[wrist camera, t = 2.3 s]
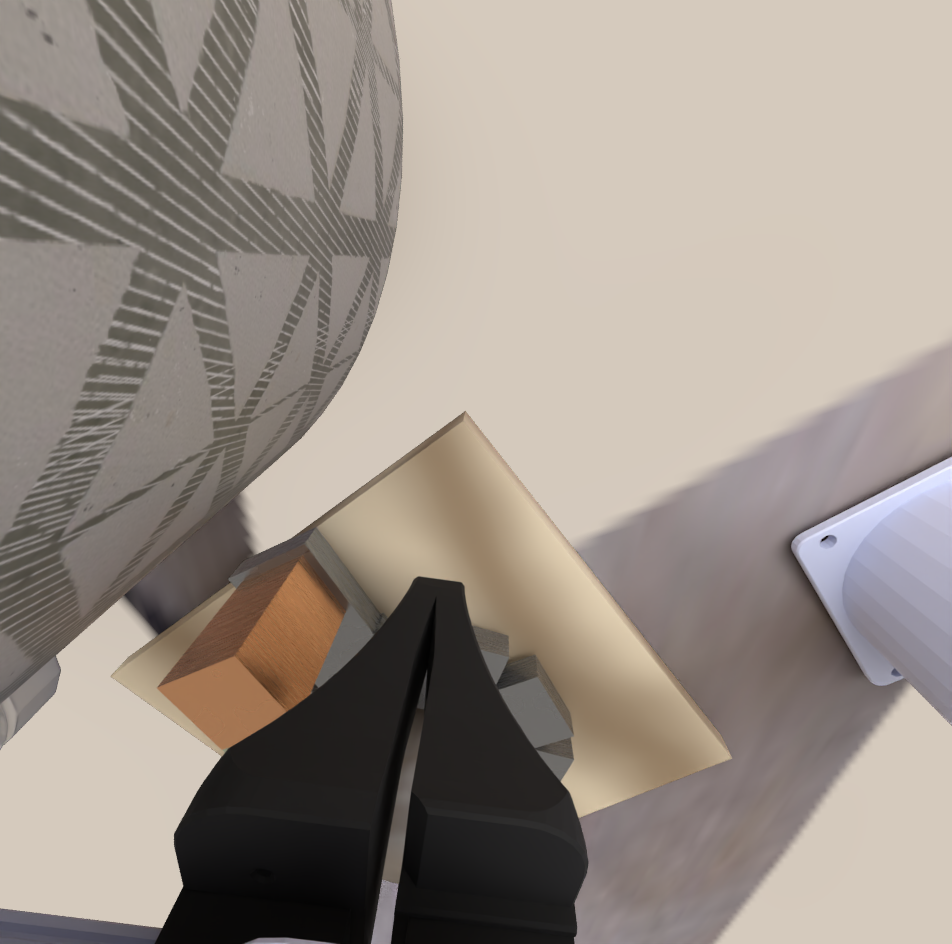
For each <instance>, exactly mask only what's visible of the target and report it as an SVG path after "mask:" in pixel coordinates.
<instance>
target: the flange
mask: <svg viewBox="0 0 952 944" xmlns="http://www.w3.org/2000/svg"><path fill="white" fill-rule="evenodd" d="M228 580H229V581H230V582H231V583H232V584H233V586H234V587H235V588H236V590H235V591H234V592H233V594H232V595H231V596H230V597H229V599H228V600H227V601H226V602H225V604H224V605H223V606H222V607H221V608H220V610H219V611H218V612H217V613H216V615H215V616H214V617H213V618H212V620H211V621H210V622H209V623H208V625H207V626H206V627H205V628H204V630H203V631H202V632H201V633H200V635H199V636H198V637H197V638H196V639H195V641H194V642H193V643H192V644H191V646H190V647H189V648H188V649H187V651H186V652H185V653H184V654H183V656H182V657H181V658H180V659H179V661H178V662H177V663H176V664H175V666H174V667H173V668H172V669H171V670H170V672H169V673H168V674H167V675H166V677H165V678H164V679H163V680H162V682H161V683H160V684H159V685H158V687H157V689H158V690H159V691H160V692H161V693H162V694H163V695H164V696H165V697H166V698H167V699H168V700H170V701H171V702H172V703H173V704H174V705H175V706H176V707H177V708H178V709H179V710H180V711H181V712H182V713H183V714H184V715H185V716H186V717H187V718H189V719H190V720H191V721H192V722H193V723H194V724H195V725H196V726H197V727H198V728H199V729H200V730H201V731H202V732H203V733H204V734H205V735H206V736H207V737H209V738H210V739H211V740H212V741H213V742H214V743H215V744H216V745H217V746H218V747H219V748H220V749H221V750H223V749H226V748H229V747H231V746H233V745H235V744H237V743H238V742H240V741H242V740H243V739H245V738H246V737H248V736H250V735H251V734H253V733H255V732H256V731H258V730H260V729H261V728H263V727H265V726H266V725H268V724H269V723H271V722H272V721H274V720H276V719H277V718H279V717H280V716H281V715H283V714H284V713H286V712H287V711H288V710H290V709H291V708H292V707H294V706H295V705H297V704H298V703H299V702H301V701H302V700H304V699H305V698H306V697H308V696H309V695H310V694H312V693H313V692H314V691H315V690H317V689H318V688H319V687H320V686H322V685H323V684H324V683H325V682H326V681H327V680H329V679H330V678H331V677H332V676H333V675H334V674H336V673H337V672H338V671H339V670H340V669H341V668H342V667H343V666H344V665H346V664H347V663H348V662H349V661H350V660H351V659H352V658H353V657H354V656H355V655H356V654H357V653H358V652H359V651H360V650H361V649H362V648H363V647H364V646H365V645H366V643H367V642H368V641H369V640H370V639H371V638H372V637H373V636H374V634H375V633H376V632H377V631H378V630H379V629H380V628H381V626H382V625H383V624H384V623H385V621H386V620H387V619H388V618H387V616H386V615H385V614H384V613H380V612H379V611H378V609H377V608H376V607H375V605H374V604H373V603H372V601H371V600H370V598H369V597H368V596H367V594H366V593H365V592H364V590H363V589H362V588H361V586H360V585H359V584H358V582H357V581H356V580H355V578H354V577H353V575H352V574H351V573H350V571H349V570H348V569H347V567H346V566H345V565H344V563H343V562H342V561H341V559H340V558H339V557H338V555H337V554H336V553H335V551H334V550H333V548H332V547H331V546H330V544H329V543H328V542H327V540H326V539H325V538H324V536H323V535H322V534H321V532H320V531H319V530H318V528H317V527H315V528H313V529H311V530H308V531H306V532H304V533H302V534H300V535H298V536H296V537H293V538H291V539H289V540H287V541H285V542H283V543H280V544H278V545H276V546H274V547H272V548H270V549H268V550H265V551H263V552H261V553H259V554H257V555H255V556H253V557H250V558H248V559H246V560H244V561H243V562H242V563H241V564H240V565H239V567H238V568H237V569H236V570H235V571H234V572H233V574H232V575H231V576H230V577H229V578H228ZM473 629H474V632H475V636H476V639H477V642H478V644H479V647H480V650H481V652H482V655H483V657H484V660H485V662H486V664H487V667H488V669H489V671H490V673H491V676H492V678H493V680H494V682H495V684H496V686H497V688H498V690H499V692H500V694H501V695H502V697H503V699H504V701H505V703H506V704H507V706H508V708H509V710H510V711H511V713H512V715H513V716H514V718H515V719H516V721H517V722H518V724H519V725H520V727H521V729H522V730H523V732H524V733H525V735H526V736H527V738H528V739H529V741H530V742H531V744H532V745H533V746H534V748H535V749H536V751H537V752H538V753H539V755H540V756H541V757H542V759H543V760H544V761H545V763H546V764H547V765H548V767H549V768H550V769H551V770H552V772H553V773H554V774H555V775H556V777H557V778H558V779H559V780H560V781H561V780H562V779H563V777H564V775H565V774H566V772H567V771H568V769H569V767H570V766H571V764H572V763H573V761H574V755H573V749H572V742H571V737H574V732H573V726H572V720H571V713H570V711H569V709H568V708H567V706H566V704H565V703H564V701H563V699H562V698H561V696H560V694H559V693H558V691H557V689H556V688H555V686H554V684H553V683H552V681H551V679H550V678H549V676H548V675H547V673H546V671H545V670H544V668H543V666H542V665H541V663H540V661H539V660H538V658H537V656H536V655H532V656H529V657H526V658H524V659H521V660H518V661H515V662H512V663H509V664H506V663H507V661H508V659H509V636H508V635H504V634H501V633H497V632H494V631H490V630H486V629H483V628H479V627H476V626H473ZM426 678H427V672H426V675H425V679H424V683H423V687H422V690H421V694H420V698H419V702H418V705H417V708H420V709H424V707H425V693H426Z"/></svg>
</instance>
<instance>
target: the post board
mask: <svg viewBox="0 0 952 944" xmlns="http://www.w3.org/2000/svg"><path fill="white" fill-rule="evenodd" d="M315 527H317V528H318V530H319V531H320V532H321V534H322V535H323V536H324V538H325V539H326V540H327V542H328V543H329V544H330V546H331V547H332V548H333V550H334V551H335V553H336V554H337V555H338V557H339V558H340V559H341V561H342V562H343V563H344V565H345V566H346V567H347V569H348V570H349V571H350V573H351V574H352V575H353V577H354V578H355V580H356V581H357V582H358V584H359V585H360V586H361V588H362V589H363V590H364V592H365V593H366V594H367V596H368V597H369V598H370V600H371V601H372V603H373V604H374V605H375V607H376V608H377V609H378V611H379V612H380V613H384V614H385V615H386V616H387V618H389V616H390V615H391V614H392V612H393V611H394V610H395V609H396V607H397V606H398V604H399V603H400V602H401V600H402V599H403V597H404V596H405V594H406V593H407V591H408V589H409V588H410V586H411V584H412V582H413V580H414V579H415V578H416V577H418V576H421V577H428V578H435V579H443V580H450V581H457V582H462V583H463V585H464V586H465V597H466V603H467V608H468V612H469V616H470V620H471V623H472V626H476V627H479V628H483V629H486V630H490V631H494V632H497V633H501V634H504V635H508V636H509V659H508V661H507V663H506V664H509V663H512V662H515V661H518V660H521V659H524V658H526V657H529V656H532V655H536V656H537V658H538V660H539V661H540V663H541V665H542V666H543V668H544V670H545V671H546V673H547V675H548V676H549V678H550V679H551V681H552V683H553V684H554V686H555V688H556V689H557V691H558V693H559V694H560V696H561V698H562V699H563V701H564V703H565V704H566V706H567V708H568V709H569V711H570V713H571V720H572V726H573V732H574V737H571V742H572V749H573V755H574V761H573V763H572V764H571V766H570V767H569V769H568V771H567V772H566V774H565V775H564V777H563V779H562V780H561V783H562V784H563V785H564V786H565V787H566V788H567V790H568V791H569V792H570V794H571V797H572V800H573V803H574V806H575V809H576V812H577V815H578V818H580V817H582V816H585V815H588V814H590V813H593V812H595V811H598V810H600V809H603V808H606V807H608V806H611V805H613V804H616V803H618V802H621V801H624V800H626V799H629V798H631V797H634V796H637V795H639V794H642V793H644V792H647V791H649V790H652V789H655V788H657V787H660V786H662V785H665V784H667V783H670V782H673V781H675V780H678V779H680V778H683V777H685V776H688V775H691V774H693V773H696V772H698V771H701V770H703V769H706V768H709V767H711V766H714V765H716V764H719V763H721V762H724V761H727V760H729V759H732V757H731V755H730V753H729V751H728V749H727V747H726V744H725V742H724V740H723V738H722V736H721V735H720V733H719V732H718V731H717V730H716V728H715V727H714V726H713V725H712V723H711V722H710V721H709V719H708V718H707V717H706V716H705V714H704V713H703V712H702V711H701V709H700V708H699V707H698V705H697V704H696V703H695V702H694V700H693V699H692V698H691V697H690V695H689V694H688V693H687V692H686V690H685V689H684V688H683V686H682V685H681V684H680V683H679V681H678V680H677V679H676V678H675V676H674V675H673V674H672V672H671V671H670V670H669V669H668V667H667V666H666V665H665V664H664V662H663V661H662V660H661V659H660V657H659V656H658V655H657V653H656V652H655V651H654V650H653V648H652V647H651V646H650V645H649V643H648V642H647V641H646V639H645V638H644V637H643V636H642V634H641V633H640V632H639V631H638V629H637V628H636V627H635V626H634V624H633V623H632V622H631V620H630V619H629V618H628V617H627V615H626V614H625V613H624V612H623V610H622V609H621V608H620V606H619V605H618V604H617V603H616V601H615V600H614V599H613V598H612V596H611V595H610V594H609V593H608V591H607V590H606V589H605V587H604V586H603V585H602V584H601V582H600V581H599V580H598V579H597V577H596V576H595V575H594V573H593V572H592V571H591V570H590V568H589V567H588V566H587V565H586V563H585V562H584V561H583V560H582V558H581V557H580V556H579V554H578V553H577V552H576V551H575V549H574V548H573V547H572V546H571V544H570V543H569V542H568V540H567V539H566V538H565V537H564V535H563V534H562V533H561V532H560V530H559V529H558V528H557V527H556V525H555V524H554V523H553V521H551V519H550V518H549V516H548V515H547V514H546V513H545V511H544V510H543V509H542V507H541V506H540V505H539V504H538V502H537V501H536V500H535V499H534V498H533V496H532V495H531V494H530V492H529V491H528V490H527V489H526V487H525V486H524V485H523V483H522V482H521V481H520V480H519V478H518V477H517V476H516V475H515V473H514V472H513V471H512V469H511V468H510V467H509V466H508V465H507V463H506V462H505V461H504V459H503V458H502V457H501V456H500V454H499V453H498V452H497V450H496V449H495V448H494V447H493V445H492V444H491V443H490V442H489V440H488V439H487V438H486V437H485V435H484V434H483V433H482V431H481V430H480V429H479V428H478V426H477V425H476V424H475V422H474V421H473V420H472V419H471V417H470V416H469V415H468V414H467V412H466V411H465V412H464V413H462V414H461V415H459V416H458V417H457V418H455V419H454V420H453V421H452V422H450V423H448V424H447V425H446V426H444V427H443V428H442V429H440V430H439V431H437V432H436V433H435V434H433V435H432V436H431V437H429V438H428V439H427V440H425V441H424V442H422V443H421V444H420V445H418V446H417V447H416V448H414V449H413V450H412V451H410V452H409V453H407V454H406V455H405V456H403V457H402V458H401V459H399V460H398V461H396V462H395V463H394V464H392V465H391V466H390V467H388V468H387V469H385V470H384V471H383V472H381V473H380V474H379V475H377V476H376V477H375V478H373V479H372V480H371V481H369V482H368V483H366V484H365V485H364V486H362V487H361V488H359V489H358V490H357V491H355V492H354V493H353V494H351V495H350V496H348V497H347V498H346V499H344V500H343V501H342V502H340V503H339V504H338V505H336V506H335V507H333V508H332V509H331V510H329V511H328V512H327V513H325V514H324V515H322V516H321V517H320V518H318V519H317V520H316V521H314V522H313V523H312V524H310V525H309V526H307V527H306V528H305V529H303V530H302V531H301V532H299V533H298V534H297V535H295V536H294V537H296V536H298V535H300V534H302V533H304V532H306V531H308V530H311V529H313V528H315ZM235 590H236V588H235V587H234V586H233V584H232V583H229V584H228V585H227V586H225V587H224V588H223V589H221V590H220V591H218V592H217V593H216V594H214V595H213V596H212V597H210V598H209V599H207V600H206V601H205V602H203V603H202V604H201V605H199V606H198V607H196V608H195V609H194V610H192V611H191V612H190V613H188V614H187V615H186V616H184V617H183V618H181V619H180V620H179V621H177V622H176V623H175V624H173V625H172V626H170V627H169V628H168V629H166V630H165V631H164V632H162V633H161V634H160V635H158V636H157V637H155V638H154V639H153V640H151V641H150V642H149V643H147V644H146V645H145V646H143V647H142V648H140V649H139V650H138V651H136V652H135V653H133V654H132V655H131V656H129V657H128V658H127V659H126V660H125V661H124V662H123V664H122V665H121V666H120V667H119V668H118V669H117V670H116V671H115V672H114V673H113V674H112V675H111V677H112V678H113V679H115V680H116V681H118V682H119V683H120V684H122V685H123V686H125V687H126V688H127V689H129V690H130V691H132V692H133V693H134V694H136V695H137V696H139V697H140V698H141V699H143V700H144V701H145V702H147V703H148V704H150V705H151V706H152V707H154V708H155V709H157V710H158V711H159V712H161V713H162V714H164V715H165V716H166V717H168V718H169V719H171V720H172V721H173V722H175V723H176V724H177V725H179V726H180V727H182V728H183V729H185V730H186V731H187V732H189V733H190V734H191V735H193V736H194V737H196V738H197V739H198V740H200V741H201V742H203V743H204V744H205V745H207V746H208V747H210V748H211V749H212V750H214V751H215V752H216V753H218V754H219V755H221V756H223V755H224V753H225V752H226V751H227V750H228V748H226V749H223V750H221V749H220V748H219V747H218V746H217V745H216V744H215V743H214V742H213V741H212V740H211V739H210V738H209V737H207V736H206V735H205V734H204V733H203V732H202V731H201V730H200V729H199V728H198V727H197V726H196V725H195V724H194V723H193V722H192V721H191V720H190V719H189V718H187V717H186V716H185V715H184V714H183V713H182V712H181V711H180V710H179V709H178V708H177V707H176V706H175V705H174V704H173V703H172V702H171V701H170V700H168V699H167V698H166V697H165V696H164V695H163V694H162V693H161V692H160V691H159V690H158V689H157V687H158V685H159V684H160V683H161V682H162V680H163V679H164V678H165V677H166V675H167V674H168V673H169V672H170V670H171V669H172V668H173V667H174V666H175V664H176V663H177V662H178V661H179V659H180V658H181V657H182V656H183V654H184V653H185V652H186V651H187V649H188V648H189V647H190V646H191V644H192V643H193V642H194V641H195V639H196V638H197V637H198V636H199V635H200V633H201V632H202V631H203V630H204V628H205V627H206V626H207V625H208V623H209V622H210V621H211V620H212V618H213V617H214V616H215V615H216V613H217V612H218V611H219V610H220V608H221V607H222V606H223V605H224V604H225V602H226V601H227V600H228V599H229V597H230V596H231V595H232V594H233V592H234V591H235ZM423 721H424V709H420V708H417V709H416V713H415V716H414V720H413V724H412V728H411V731H410V735H409V739H408V743H407V746H406V751H405V755H404V759H403V764H402V769H401V775H400V780H399V786H398V791H397V797H396V803H395V808H394V814H393V820H392V825H391V831H390V836H389V842H388V848H387V854H386V859H385V865H384V871H383V877H382V879H383V880H386V881H389V882H393V883H399V880H400V874H401V867H402V860H403V852H404V844H405V836H406V828H407V820H408V812H409V803H410V795H411V788H412V783H413V777H414V772H415V766H416V761H417V755H418V749H419V744H420V738H421V732H422V727H423ZM229 748H230V747H229Z"/></svg>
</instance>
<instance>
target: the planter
mask: <svg viewBox="0 0 952 944" xmlns="http://www.w3.org/2000/svg"><path fill="white" fill-rule="evenodd" d="M402 139H403V114H402V98H401V81H400V66H399V54H398V47H397V39H396V32H395V25H394V18H393V10H392V3H391V0H0V704H1V703H2V702H3V701H5V700H6V699H7V698H8V697H9V696H10V695H11V694H12V693H14V692H15V691H16V690H17V689H18V688H19V687H20V686H22V685H23V684H24V683H25V682H26V681H27V680H28V679H29V678H31V677H32V676H33V675H34V674H35V673H36V672H37V671H39V670H40V669H41V668H42V667H43V666H44V665H45V664H46V663H48V662H49V661H50V660H51V659H52V658H53V657H54V656H56V654H58V653H59V652H60V651H61V650H62V649H63V648H65V647H66V646H67V645H68V644H69V643H70V642H71V641H72V640H74V639H75V638H76V637H77V636H78V635H79V634H80V633H82V632H83V631H84V630H85V629H86V628H87V627H88V626H89V625H91V623H93V622H94V621H95V620H96V619H97V618H98V617H100V616H101V615H102V614H103V613H104V612H105V611H106V610H108V609H109V608H110V607H111V606H112V605H113V604H114V603H116V602H117V601H118V600H119V599H120V598H121V597H122V596H123V595H125V594H126V593H127V592H128V591H129V590H130V589H131V588H133V587H134V586H135V585H136V584H137V583H138V582H139V581H140V580H142V579H143V578H144V577H145V576H146V575H147V574H148V573H150V572H151V571H152V570H153V569H154V568H155V567H156V566H157V565H159V564H160V563H161V562H162V561H163V560H164V559H165V558H167V557H168V556H169V555H170V554H171V553H172V552H173V551H174V550H176V549H177V548H178V547H179V546H180V545H181V544H182V543H184V542H185V541H186V540H187V539H188V538H189V537H190V536H191V535H193V534H194V533H195V532H196V531H197V530H198V529H199V528H201V527H202V526H203V525H204V524H205V523H206V522H207V521H208V520H210V519H211V518H212V517H213V516H214V515H215V514H216V513H218V512H219V511H220V510H221V509H222V508H223V507H224V506H225V505H227V504H228V503H229V502H230V501H231V500H232V499H233V498H235V497H236V496H237V495H238V494H239V493H240V492H241V491H242V490H244V489H245V488H246V487H247V486H248V485H249V484H250V483H251V482H252V481H254V480H255V479H256V478H257V477H258V476H259V475H261V474H262V473H263V472H264V471H265V470H266V469H267V468H268V467H270V466H271V465H272V464H273V463H274V462H275V461H276V460H278V459H279V458H280V457H281V456H282V455H283V454H284V453H285V452H286V451H287V450H288V449H290V448H291V447H292V446H293V445H294V444H295V443H296V442H297V441H298V440H300V439H301V438H302V436H303V435H304V434H305V433H306V432H307V431H308V430H309V428H310V427H311V426H312V425H313V424H314V423H315V422H316V420H317V419H318V418H319V417H320V416H321V415H322V413H323V412H324V411H325V409H326V408H327V406H328V405H329V403H330V402H331V401H332V399H333V398H334V396H335V395H336V393H337V392H338V390H339V389H340V388H341V386H342V385H343V382H344V381H345V379H346V377H347V375H348V373H349V371H350V370H351V368H352V366H353V364H354V362H355V360H356V358H357V357H358V355H359V352H360V351H361V348H362V346H363V343H364V341H365V339H366V336H367V334H368V331H369V329H370V326H371V324H372V322H373V319H374V317H375V313H376V310H377V307H378V304H379V300H380V297H381V293H382V290H383V286H384V283H385V280H386V276H387V272H388V267H389V263H390V257H391V252H392V247H393V242H394V237H395V232H396V226H397V217H398V207H399V198H400V189H401V179H402V142H403V141H402Z"/></svg>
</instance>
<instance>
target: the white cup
mask: <svg viewBox="0 0 952 944" xmlns="http://www.w3.org/2000/svg"><path fill="white" fill-rule="evenodd" d="M60 672H61V669H60V666H59V663H58V661H57V658H56V656H54V657H53V658H52V659H51V660H50V661H49V662H48V663H46V664H45V665H44V666H43V667H42V668H41V669H40V670H39V671H37V672H36V673H35V674H34V675H33V676H32V677H31V678H29V679H28V680H27V681H26V682H25V683H24V684H23V685H22V686H20V687H19V688H18V689H17V690H16V691H15V692H14V693H12V694H11V695H10V696H9V697H8V698H7V699H6V700H5V701H3V702H2V703H1V704H0V749H1V748H2V746H3V745H4V744H5V743H7V742H8V741H9V740H10V739H11V738H12V737H13V736H14V735H15V734H16V733H17V732H18V731H19V730H20V729H21V728H22V727H23V726H24V725H25V724H26V723H27V722H28V721H29V720H30V719H31V718H32V716H33V715H34V714H35V713H36V712H37V711H38V710H39V709H40V708H41V707H42V706H43V705H44V704H45V703H46V702H47V701H48V700H49V699H50V698H51V697H52V696H53V695H54V693H55V692H56V689H57V684H58V680H59V676H60Z"/></svg>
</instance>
